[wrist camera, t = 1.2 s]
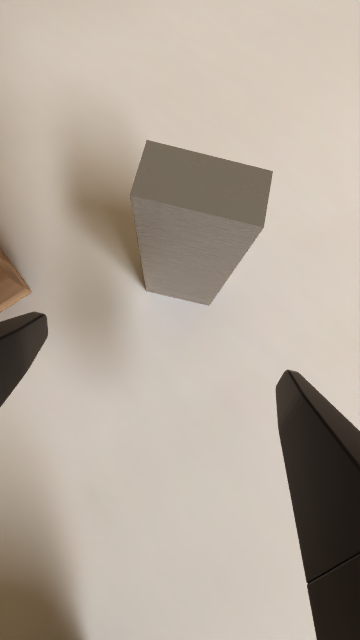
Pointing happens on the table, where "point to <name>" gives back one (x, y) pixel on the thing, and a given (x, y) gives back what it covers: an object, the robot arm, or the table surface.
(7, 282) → the slot rack
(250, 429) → the table surface
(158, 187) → the gray rectangular block
